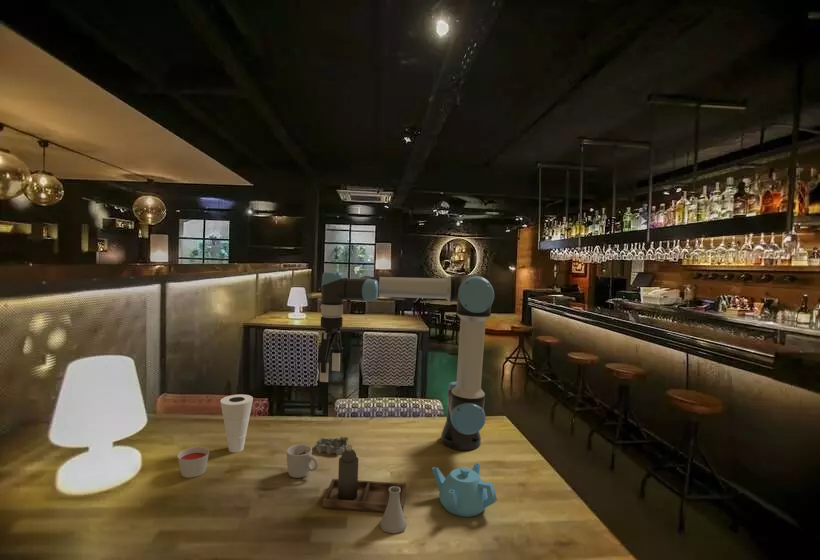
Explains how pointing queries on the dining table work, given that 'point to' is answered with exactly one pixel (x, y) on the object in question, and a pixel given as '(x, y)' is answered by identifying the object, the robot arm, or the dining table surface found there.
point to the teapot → (464, 491)
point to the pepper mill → (348, 475)
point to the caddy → (364, 496)
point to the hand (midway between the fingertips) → (330, 376)
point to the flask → (393, 513)
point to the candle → (193, 461)
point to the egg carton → (328, 444)
